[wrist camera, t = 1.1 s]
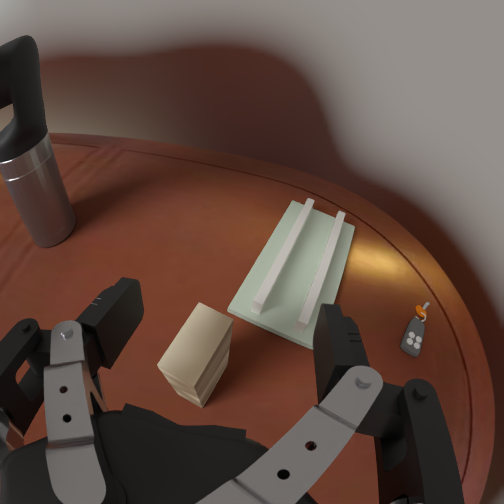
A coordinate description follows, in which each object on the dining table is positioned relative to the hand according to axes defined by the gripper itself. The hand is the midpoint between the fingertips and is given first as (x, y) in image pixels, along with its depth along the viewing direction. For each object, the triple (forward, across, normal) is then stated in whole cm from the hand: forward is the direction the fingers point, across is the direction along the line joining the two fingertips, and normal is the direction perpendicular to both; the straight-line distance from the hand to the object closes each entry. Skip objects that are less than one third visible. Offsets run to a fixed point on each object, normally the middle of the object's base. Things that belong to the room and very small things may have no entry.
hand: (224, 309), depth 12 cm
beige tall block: (+10, +4, +18) cm, 21 cm away
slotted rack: (+27, -7, +11) cm, 30 cm away
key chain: (+22, -26, +16) cm, 37 cm away
